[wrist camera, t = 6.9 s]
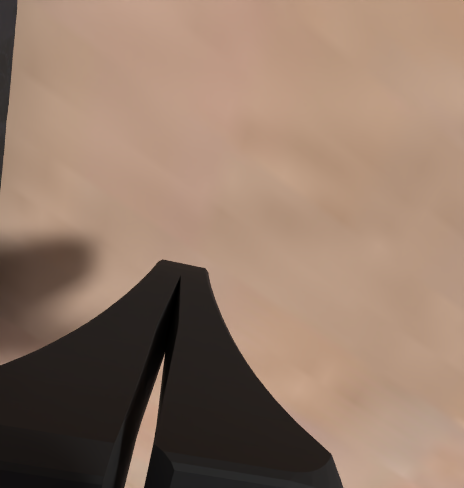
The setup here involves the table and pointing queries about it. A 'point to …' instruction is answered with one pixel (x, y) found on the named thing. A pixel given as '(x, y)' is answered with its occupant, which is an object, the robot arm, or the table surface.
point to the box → (5, 64)
